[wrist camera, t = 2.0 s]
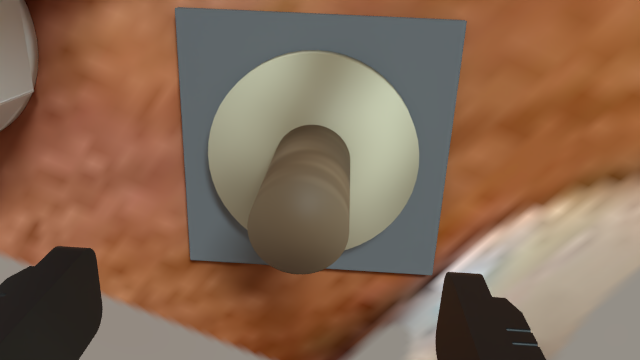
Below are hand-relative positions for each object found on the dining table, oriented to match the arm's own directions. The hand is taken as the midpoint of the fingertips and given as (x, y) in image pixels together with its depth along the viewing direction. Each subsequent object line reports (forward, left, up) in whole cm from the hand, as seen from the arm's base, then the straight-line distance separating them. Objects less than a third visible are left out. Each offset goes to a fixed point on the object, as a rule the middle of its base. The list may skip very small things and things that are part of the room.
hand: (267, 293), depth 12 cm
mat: (0, 0, -11) cm, 11 cm away
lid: (0, 0, -11) cm, 11 cm away
